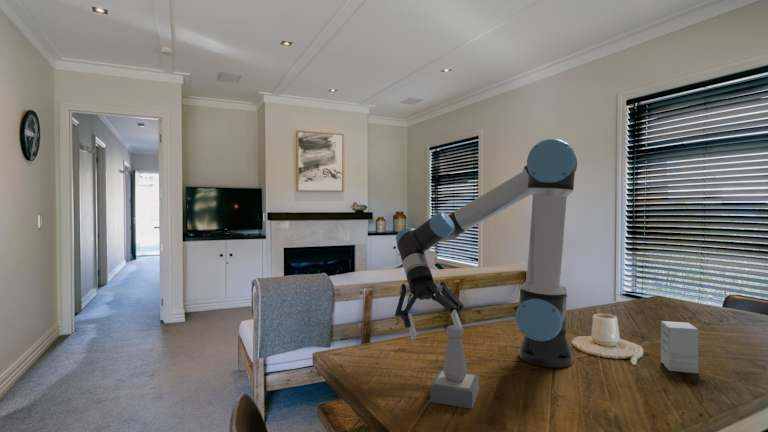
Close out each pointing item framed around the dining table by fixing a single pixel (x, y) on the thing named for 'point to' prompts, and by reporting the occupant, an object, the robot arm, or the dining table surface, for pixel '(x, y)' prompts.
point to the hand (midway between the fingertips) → (438, 335)
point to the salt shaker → (455, 355)
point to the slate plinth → (454, 390)
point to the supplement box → (679, 346)
